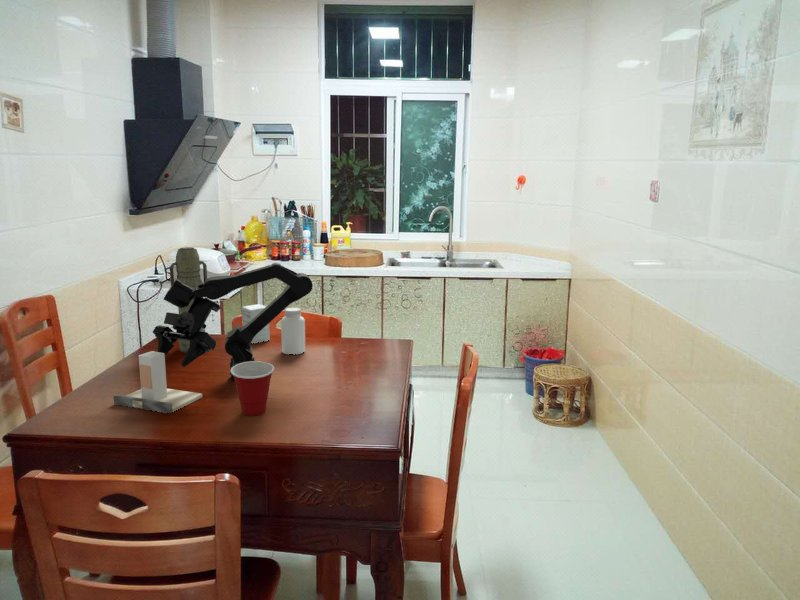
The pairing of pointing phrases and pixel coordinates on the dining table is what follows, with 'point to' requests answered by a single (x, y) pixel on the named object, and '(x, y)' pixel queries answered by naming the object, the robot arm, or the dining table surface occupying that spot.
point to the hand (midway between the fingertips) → (169, 364)
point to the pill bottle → (293, 332)
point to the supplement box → (249, 314)
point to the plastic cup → (252, 385)
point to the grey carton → (153, 375)
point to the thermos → (188, 277)
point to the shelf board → (164, 405)
